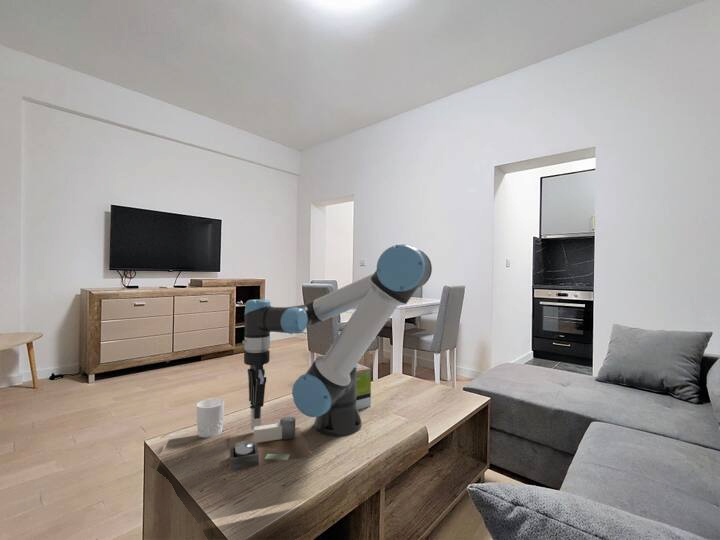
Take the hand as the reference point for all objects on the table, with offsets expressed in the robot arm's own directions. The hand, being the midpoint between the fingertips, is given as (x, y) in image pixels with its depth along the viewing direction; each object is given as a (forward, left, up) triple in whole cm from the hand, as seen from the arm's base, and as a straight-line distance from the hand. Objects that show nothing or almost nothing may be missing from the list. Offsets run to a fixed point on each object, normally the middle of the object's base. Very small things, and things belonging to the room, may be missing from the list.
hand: (255, 427), depth 103 cm
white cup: (+13, -5, -3) cm, 14 cm away
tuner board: (-3, +10, -3) cm, 11 cm away
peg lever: (-5, +7, -1) cm, 9 cm away
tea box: (-36, -16, -3) cm, 40 cm away
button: (+4, +16, 0) cm, 17 cm away
